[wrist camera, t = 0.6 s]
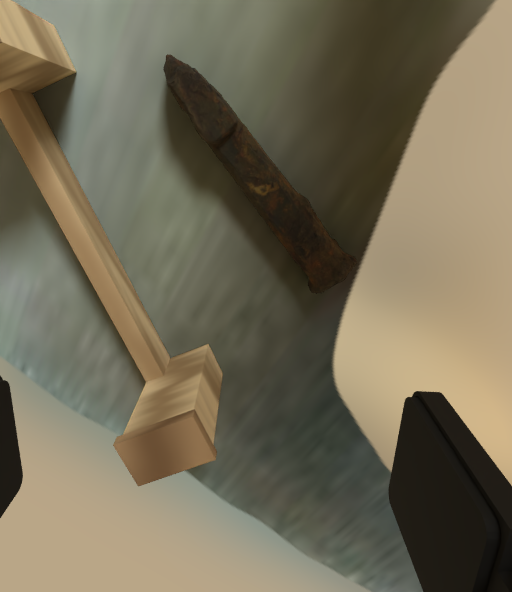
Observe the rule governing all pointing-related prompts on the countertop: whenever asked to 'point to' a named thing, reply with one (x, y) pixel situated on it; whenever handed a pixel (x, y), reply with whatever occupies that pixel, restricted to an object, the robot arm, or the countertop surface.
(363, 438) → the countertop surface
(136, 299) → the wooden u-shaped stand
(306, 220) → the hand tool
